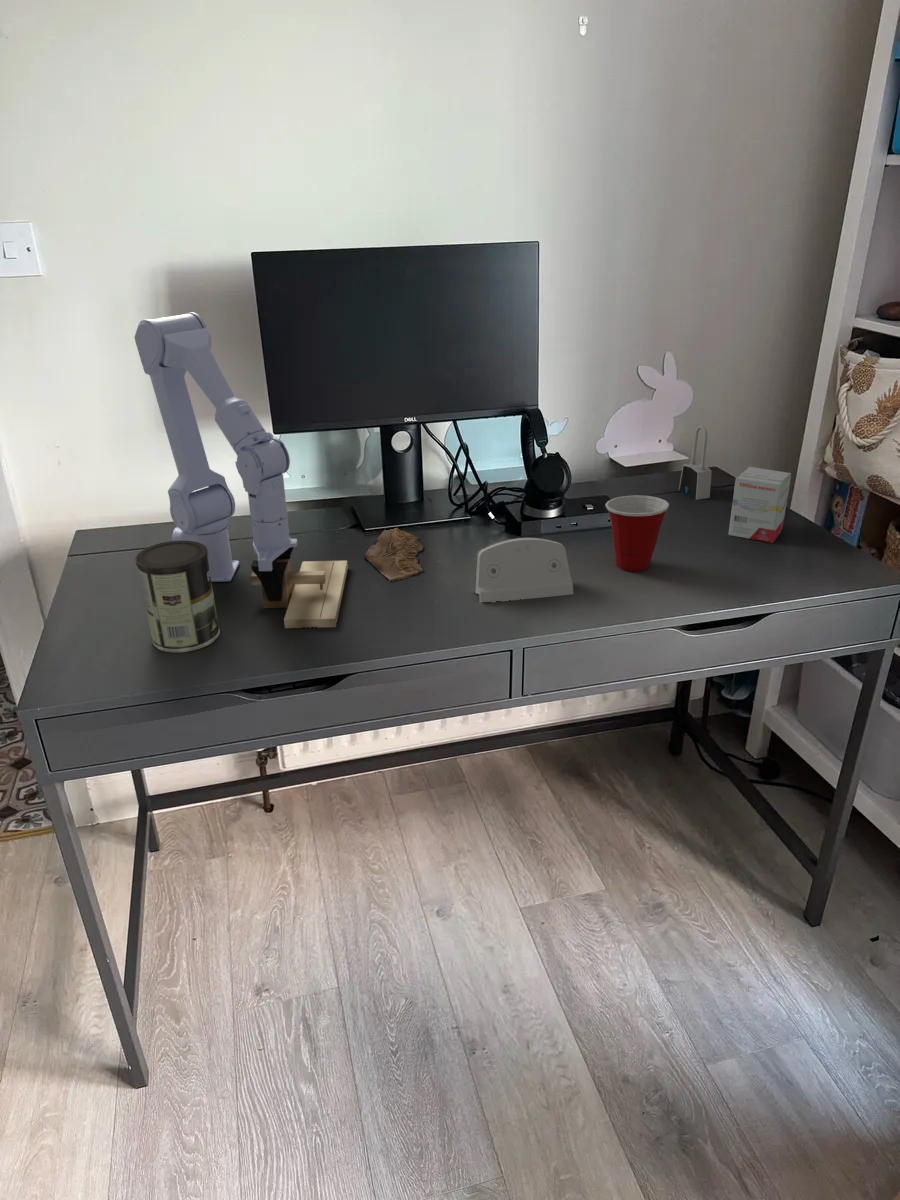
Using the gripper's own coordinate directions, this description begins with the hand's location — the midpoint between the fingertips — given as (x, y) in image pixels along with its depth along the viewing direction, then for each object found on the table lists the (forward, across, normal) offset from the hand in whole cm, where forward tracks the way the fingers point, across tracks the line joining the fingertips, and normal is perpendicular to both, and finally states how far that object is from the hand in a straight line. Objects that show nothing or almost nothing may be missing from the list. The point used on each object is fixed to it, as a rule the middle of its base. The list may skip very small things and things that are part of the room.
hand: (277, 592), depth 144 cm
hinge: (+2, +3, -41) cm, 41 cm away
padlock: (+2, +48, -82) cm, 95 cm away
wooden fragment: (+2, +20, -18) cm, 27 cm away
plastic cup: (+2, +12, -61) cm, 63 cm away
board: (+2, +2, -6) cm, 7 cm away
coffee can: (+2, -12, +12) cm, 17 cm away
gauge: (+2, 0, -2) cm, 3 cm away
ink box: (+2, +26, -88) cm, 92 cm away
